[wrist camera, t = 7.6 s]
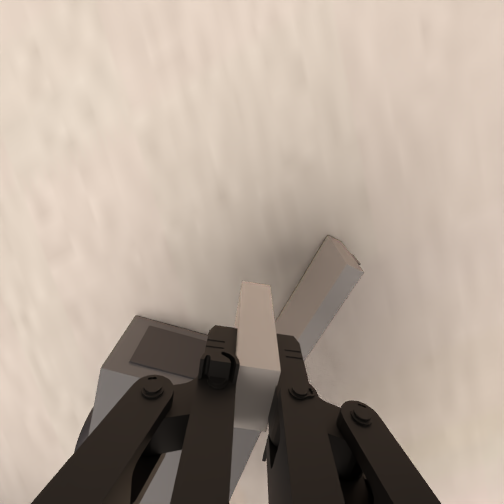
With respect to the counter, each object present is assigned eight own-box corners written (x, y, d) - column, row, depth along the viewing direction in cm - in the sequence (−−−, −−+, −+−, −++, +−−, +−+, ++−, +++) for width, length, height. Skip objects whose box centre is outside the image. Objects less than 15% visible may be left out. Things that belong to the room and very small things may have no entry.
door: (259, 347, 28) (260, 398, 23) (327, 235, 24) (346, 264, 19) (277, 355, 28) (281, 406, 23) (347, 244, 24) (371, 275, 19)
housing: (219, 468, 34) (209, 552, 27) (96, 439, 33) (54, 519, 26) (268, 350, 29) (270, 419, 22) (122, 310, 27) (76, 369, 21)
